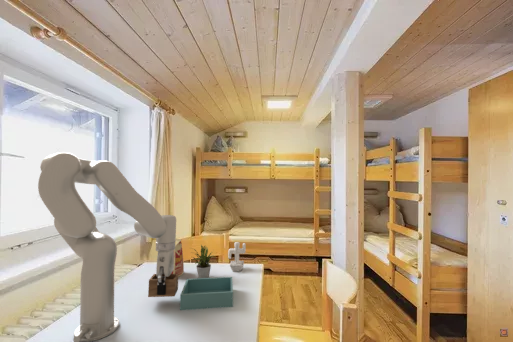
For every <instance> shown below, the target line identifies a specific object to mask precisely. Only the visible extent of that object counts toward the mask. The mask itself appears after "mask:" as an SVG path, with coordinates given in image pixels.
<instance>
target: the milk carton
mask: <svg viewBox="0 0 513 342" xmlns="http://www.w3.org/2000/svg"><path fill="white" fill-rule="evenodd" d="M183 253H184V252H183V244H182V239H181V238H177V237H176V240H175V250H174V270H173V272H172V273H171V274H179V275H178V278H179V277H182V276H183V274H184V273H185V270H184V268H185V267H184V266H185V265H184V255H183Z"/></svg>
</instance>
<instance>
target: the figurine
mask: <svg viewBox="0 0 513 342" xmlns="http://www.w3.org/2000/svg"><path fill="white" fill-rule="evenodd" d="M246 251H247V250H246V243H245V242H243V243H242V248H241V247H240V242H239V241H236V242H234V248H232V247H231V248H229V249H228V251H227V254H228V257H227V258H228V259H229V260H230V259H232V254H234V260H230V264H229V266H230V269H231V271H232V272H242V269H243V267H244V265H245V263H244V260H240V254H242V255H243V254H246Z"/></svg>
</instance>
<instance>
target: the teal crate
mask: <svg viewBox="0 0 513 342" xmlns="http://www.w3.org/2000/svg"><path fill="white" fill-rule="evenodd" d="M233 282H234V281H233V276H223V277H221V276H220V277H209V278H198V277H197V278H186V280H185V283H184V285H183V288H182V290H181V293H180V296H179V299H180V301H179V302H180V303H179V305H180V307H179V309H180V311H186V310H187V311H189V310H202V309H203V310H204V309H218V308H220V309H221V308H233V307H234V289H233V287H234V284H233Z"/></svg>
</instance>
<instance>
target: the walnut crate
mask: <svg viewBox="0 0 513 342" xmlns="http://www.w3.org/2000/svg"><path fill="white" fill-rule="evenodd" d="M178 275H179V274H171V275H170V276H169V277H167V276H166V282H165V284H166V294H165V295H157V283H158V277H157V276H156V273H153V274H152V276H151V277H150V278H149V279H148V289H147V291H148V294H147V297H148V298H161V297H162V298H163V297H164V298H165V297H170V298H171V297H175V296H176V294H177V292H178V291H179V277H178ZM162 276H165V275H162ZM162 279H163V280H164V278H162Z"/></svg>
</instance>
